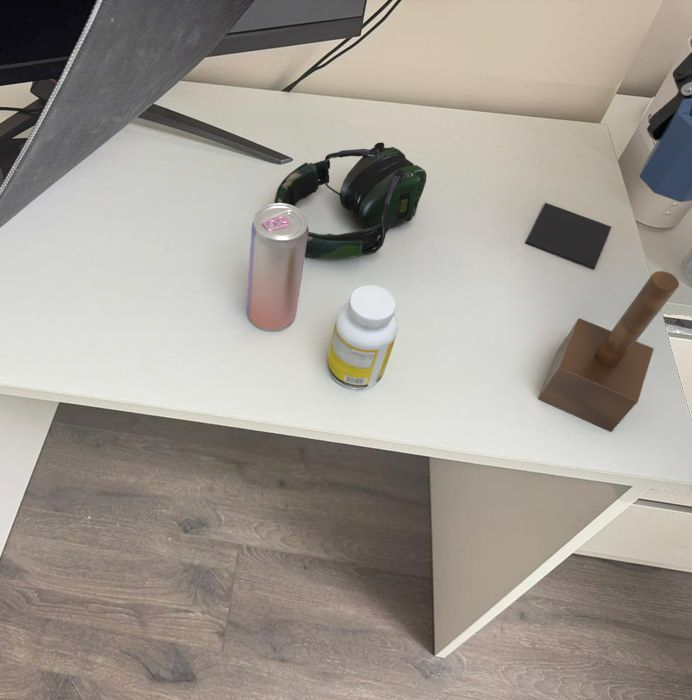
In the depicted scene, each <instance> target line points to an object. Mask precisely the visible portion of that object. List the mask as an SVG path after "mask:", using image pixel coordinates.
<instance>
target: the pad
mask: <svg viewBox="0 0 692 700" xmlns="http://www.w3.org/2000/svg"><path fill="white" fill-rule="evenodd" d="M611 229H612V226H611V225H608V224H605V223H602V222H600V221H597V220H594V219H592V218H590V217H589V218H588V217H586V216H583V215H582V214H578V213H575V212H573V211H570V210H567V209H564V208H561V207H559V206H556V205H553V204H550V203H548V202H544V205H542V208H541V211H540V212H539V214H538V216H537V218H536V220H535V222H534V224H533V226H532V229H531V230H530V233H529V234H528V236H527V238H526V240H525V242H524V243H525V244H526V245H529V246H531V247H534V248H536V249H539V250H541V251H545V252H547V253H549V254H552V255H555V256H557V257H560V258H562V259H565V260H568V261H570V262H573V263H575V264H577V265H580V266H583V267H586V268H588V269H591V270H595V269H596V267H597V264H598V262H599V259H600V257H601V254H602V253H603V249H604V247H605V245H606V242H607V239H608V236H609V234H610V232H611Z"/></svg>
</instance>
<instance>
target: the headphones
mask: <svg viewBox="0 0 692 700" xmlns="http://www.w3.org/2000/svg"><path fill="white" fill-rule="evenodd" d="M346 157H361V158H360V159H359V160H358V161H357V162H356V163H355V164H354V166H353V167H352V168H351V169H350V170H349V172H348V173H347V175H346V176H345V178H344V180H343V181H342V184H341V188H340V191H337V190H336V189H334V188H333V187H331V186H330V185H329V183H330V169H331V161H330V160H331V159H336V158H346ZM426 171H427V170H425V169H424V168H422V167H421V166H419V165H417V164H414V163H413V162H412V161H410V160H409V159H407V157H406V155H405V154H404V152H402V150H400V149H398V148H396V147H394V146H390V147H385V143H384V142H376V143H375V144H374V147H372V148H369V149H367V148H357V149H345V150H339V151H337V152H332V153H328V154H327V155H325V157H324V160H320V161H317V162H314V163H313V162H309V163H308V162H307V161H305V162H304V163H302V164H301V165H299V166H298V167H296V168H295V169H294V170H293V171H291V172H289V173H288V175H286V177H284V178H283V179H282V181H281V182H280V184H279V185H278V187H277V189H276V192H275V196H274V202H273V204H274V203H285V204H290V205H293V206H295V207H297V206H296V205H297V203H299V202H300V201H302V200H303V199H306V198H307V197H309V196H311V195H312V194H314V193H317V191H318V190H319V187H320V186H323V185H325V186H326V188H327V189H329V190H330V191H332V193H334V194H336V195H338V196H339V201H340V202H339V203H340V204H341V206H342V208H344V209H345V210H347V211H348V212H351V213H352V214H354V215H355V216H356V217H357V219H358V221H359V222H360V224H361V225H362V226H363V227H364V228H365V229H364V228H360V229H358V230H356V231H351V232H344V233H339V234H333V233H326V234H325V233H324V234H323V233H316V232H311V231H308V239H307V245H306V252H305V256H307V257H311V258H313V259H331V260H332V259H334V260H341V259H348V258H353V257H361V256H363V255H364V256H365V255H366V256H368V255H372V254H375V253H377V252H378V251H379V250H380V249H381V248H382V247H383V245H384V242H385V239H386V235H387V232H388V230H389V228H393V227H397V226H400V225H404V224H405V222H410V221H412V220H413V217H415V216H416V212H417V209H418V205H419V202H420V200H421V197H422V195H423V192H424V190H425V186H426V183H427V172H426Z"/></svg>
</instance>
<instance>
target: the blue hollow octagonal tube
mask: <svg viewBox="0 0 692 700" xmlns="http://www.w3.org/2000/svg"><path fill="white" fill-rule="evenodd" d="M639 178H640V179H641V180H642V181H643V182H644V183H645V184H646V186H647V187H648V188H649V189H650V190H651V192H653V194H655V195H659V196H661V197H665V198H668V199H670V200H673V201H675V202H679V203H685V202H691V201H692V98H690V99H684V100H683V101H682V102H681V104H680V105H679V107H678V109H677V110H676V112H675V114H674V115H673V117H672V118H671V120H670V122H669V123H668V125H667V127H666V128H665V130H664V132H663V133H662V135H661V137H660V138H659V139H658V140H656V142H655V144H654V146H653V148H652V149H651V151H650V153H649V154H648V156H647V158H646V160H645V161H644V163H643V166H642V167H641V171H640V174H639Z"/></svg>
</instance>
